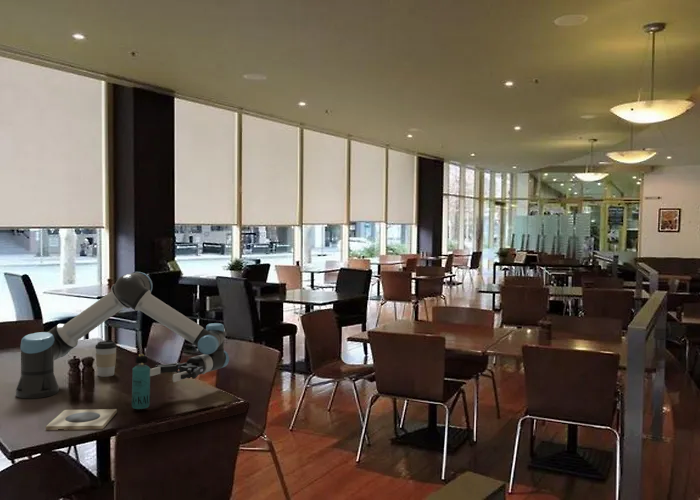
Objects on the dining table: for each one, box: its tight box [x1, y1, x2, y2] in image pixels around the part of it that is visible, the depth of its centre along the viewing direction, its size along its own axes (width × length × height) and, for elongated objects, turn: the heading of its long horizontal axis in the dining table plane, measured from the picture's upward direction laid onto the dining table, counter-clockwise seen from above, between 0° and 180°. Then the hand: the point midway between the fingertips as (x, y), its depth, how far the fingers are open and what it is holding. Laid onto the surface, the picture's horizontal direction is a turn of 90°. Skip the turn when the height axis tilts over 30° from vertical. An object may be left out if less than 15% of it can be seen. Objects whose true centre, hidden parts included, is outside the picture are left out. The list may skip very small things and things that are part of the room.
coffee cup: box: [94, 339, 118, 378], centre depth 275 cm, size 9×9×15 cm
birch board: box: [45, 408, 118, 431], centre depth 212 cm, size 18×18×1 cm
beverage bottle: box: [131, 355, 151, 410], centre depth 225 cm, size 6×7×20 cm
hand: (160, 375), depth 232 cm, fingers open, 13 cm apart
